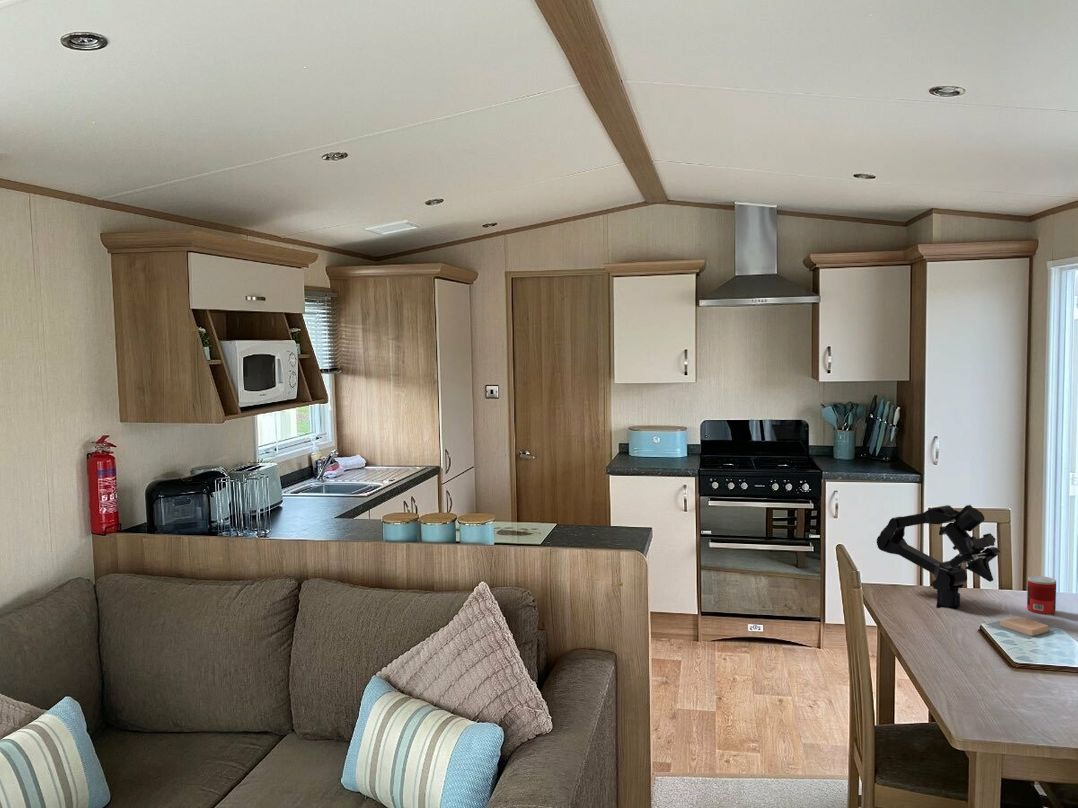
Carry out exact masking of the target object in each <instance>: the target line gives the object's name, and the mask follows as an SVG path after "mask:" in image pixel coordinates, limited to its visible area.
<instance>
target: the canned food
mask: <svg viewBox="0 0 1078 808" xmlns="http://www.w3.org/2000/svg"><path fill="white" fill-rule="evenodd" d="M1026 588H1027V590H1026V593H1027V594H1026V595H1027V597H1026V608H1027V610H1028V611H1029V612H1031V613H1034V614H1038V615H1039V614H1040V615H1051V616H1054V615H1055V614H1056V605H1057V580H1056V579H1055V578H1053V577H1049V576H1044V575H1031V576H1028V578H1027V587H1026Z"/></svg>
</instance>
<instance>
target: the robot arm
mask: <svg viewBox="0 0 1078 808" xmlns="http://www.w3.org/2000/svg"><path fill="white" fill-rule="evenodd" d="M983 522H985V515H984V514H983V512H982V511H980V510H979V509H977V508H975V507H973V506H972V505H971V504H967V505H965V506H964V507H963V508H962V509H961V510H957V509H954V508H953V507H952V506H951V505H949V504H946V505H941V506H935V507H932V508H930V509H927V510H925V511H924V512H921V513H916V514H910V515H904V516H895V517H892V518H890V519H889V521H888V523H887V524H886V526H885V527H884V528H883V529H882V530H881V532H880V533H879V535H878V536H877V538H876V545H877V548H878V549H879V550H880V551H882V552H885V553H888V554H891V555H892V554H893V555H897V556H900V557H902V558H904V559H905V560H907V561H909V562H911V563H913V564H915V565H916V566H918V567H920V568H922V569H924V570H925V571H928V572H929V573H930V574H932V575H933V576H934V578H935V579H934V580H933V581H932V582H931V584H932V588H933V589H934V590H936V603H935V604H936V606H935V607H936V608H937V609H941V608H943V609H951V610H959V608H960V607H961V593H960V592H959V589H963V587H964V585H965V583H967V580H968V575H967V571H966V570H968V571H970V572H972V573H974V574H976V575H977V576H979V577H981V578H983V579H984V580H986V581H988V582H989V583H990V582H993V581H994V576H993V573H992V571H991V567H990V563H989V562H991V561H992V560H993V559H995V558H996V557H997V556H999V555H1000V554H1001V551H1000V550H999V549H998V547H997V546H996V545H995V543H996V540H997V539H996V537H995V536H994V535H992V533H986V534H982V535H983V536H982V537H979V538H976V537H975V536H971V535H970V534H969V533H968V532H972V531H973V530H975V529H976V528H977V527H978V526H980V525H981V524H982V523H983ZM924 524H926V525H927V524H929V525H942V524H946V525H945V526H940V527H939V532H938V535H939V536H945V535H946V536H947V537H948V539H949V540H950V542H951V543H952V544H953V547H952V549H953V550H954V551H955V550H956V551H958V554H957V555H955V556H954V557H953V558H952V559H950V560H946V561H942V562H941V561H939V560H937V559H936V558H934V557H932V556H930V555H928V554H926V553H925V552H922V551H920V550H919V549H917V548H916V547H914V546H911V545H909V543H907V541H906V539H905V538H904V537H905V533H906V532H905V529H906V528H907V527H911V526H912V527H913V526H918V525H924ZM965 563H966V565H967V566H966V567H965V568H963V567H962V564H965ZM965 569H966V570H965Z"/></svg>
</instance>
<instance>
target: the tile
mask: <svg viewBox="0 0 1078 808" xmlns="http://www.w3.org/2000/svg"><path fill="white" fill-rule="evenodd" d="M999 621H1000V626H1001V627H1003V628H1007V629H1010V630H1013V631H1016V632H1019V633H1022V634H1025V635H1028V636H1031V637H1032V636H1035V635H1039V634H1042V633H1046V632H1047V631H1048V630H1050V629H1049V625H1048V624H1045V623H1040V622H1038V621H1034V620H1032V619H1028V618H1025V617H1021V616H1018V615H1016V616H1012V617H1009V618H1004V619H1001V620H999Z"/></svg>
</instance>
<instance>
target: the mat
mask: <svg viewBox="0 0 1078 808" xmlns="http://www.w3.org/2000/svg"><path fill="white" fill-rule="evenodd" d="M985 625H986V626H989V627H991V628H995V629H997V630H1001V631H1003V632H1007V633H1010V634H1013V635H1016V636H1020V637H1023V638H1026V639H1032V638H1035V637H1040V636H1044V635H1046V634H1049V633H1053V632H1054V630H1051V629H1048V631H1047V632H1046V633H1042V634H1039V635H1035V636H1032V637H1031V636H1028V635H1025V634H1022V633H1019V632H1016V631H1013V630H1010V629H1007V628H1003V627H1001V626H1000V620H997V621H993V622H990V623H989V622H988V623H986V624H985Z"/></svg>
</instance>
